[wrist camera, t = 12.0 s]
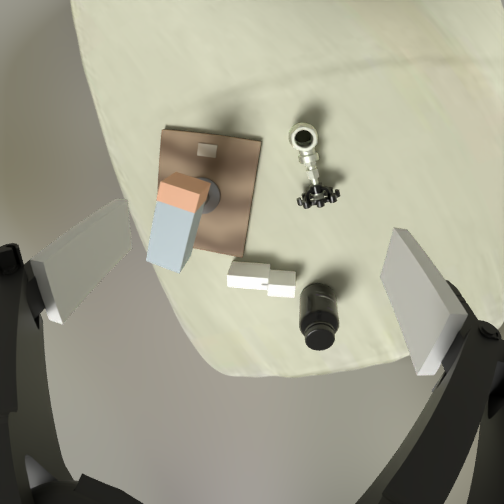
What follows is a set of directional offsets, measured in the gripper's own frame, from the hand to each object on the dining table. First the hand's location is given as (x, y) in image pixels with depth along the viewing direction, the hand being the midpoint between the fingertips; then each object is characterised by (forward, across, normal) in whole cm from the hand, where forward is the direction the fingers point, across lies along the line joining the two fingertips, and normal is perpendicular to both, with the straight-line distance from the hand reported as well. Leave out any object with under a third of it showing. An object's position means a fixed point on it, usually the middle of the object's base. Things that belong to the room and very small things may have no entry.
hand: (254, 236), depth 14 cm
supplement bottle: (+35, +10, -27) cm, 45 cm away
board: (+35, -12, -9) cm, 38 cm away
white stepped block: (+35, 0, -23) cm, 42 cm away
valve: (+35, +4, -2) cm, 35 cm away
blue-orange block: (+25, -12, -9) cm, 29 cm away
